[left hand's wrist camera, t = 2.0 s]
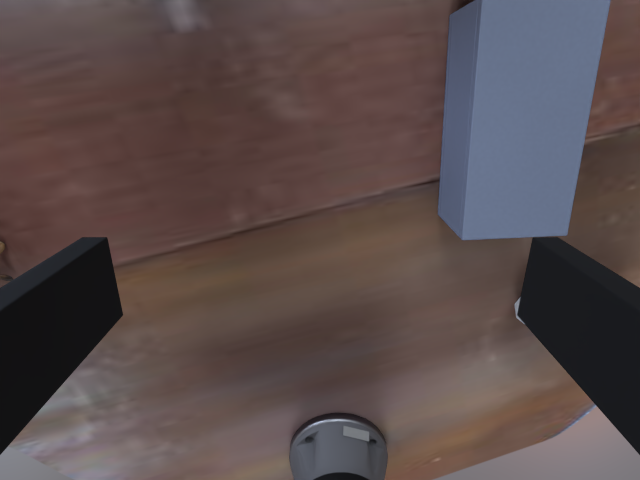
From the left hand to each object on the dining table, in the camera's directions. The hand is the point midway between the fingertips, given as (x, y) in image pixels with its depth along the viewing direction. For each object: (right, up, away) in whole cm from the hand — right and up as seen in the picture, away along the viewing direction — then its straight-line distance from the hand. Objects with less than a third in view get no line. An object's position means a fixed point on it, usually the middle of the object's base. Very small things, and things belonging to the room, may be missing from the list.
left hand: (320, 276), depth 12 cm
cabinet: (+19, +15, +32) cm, 41 cm away
